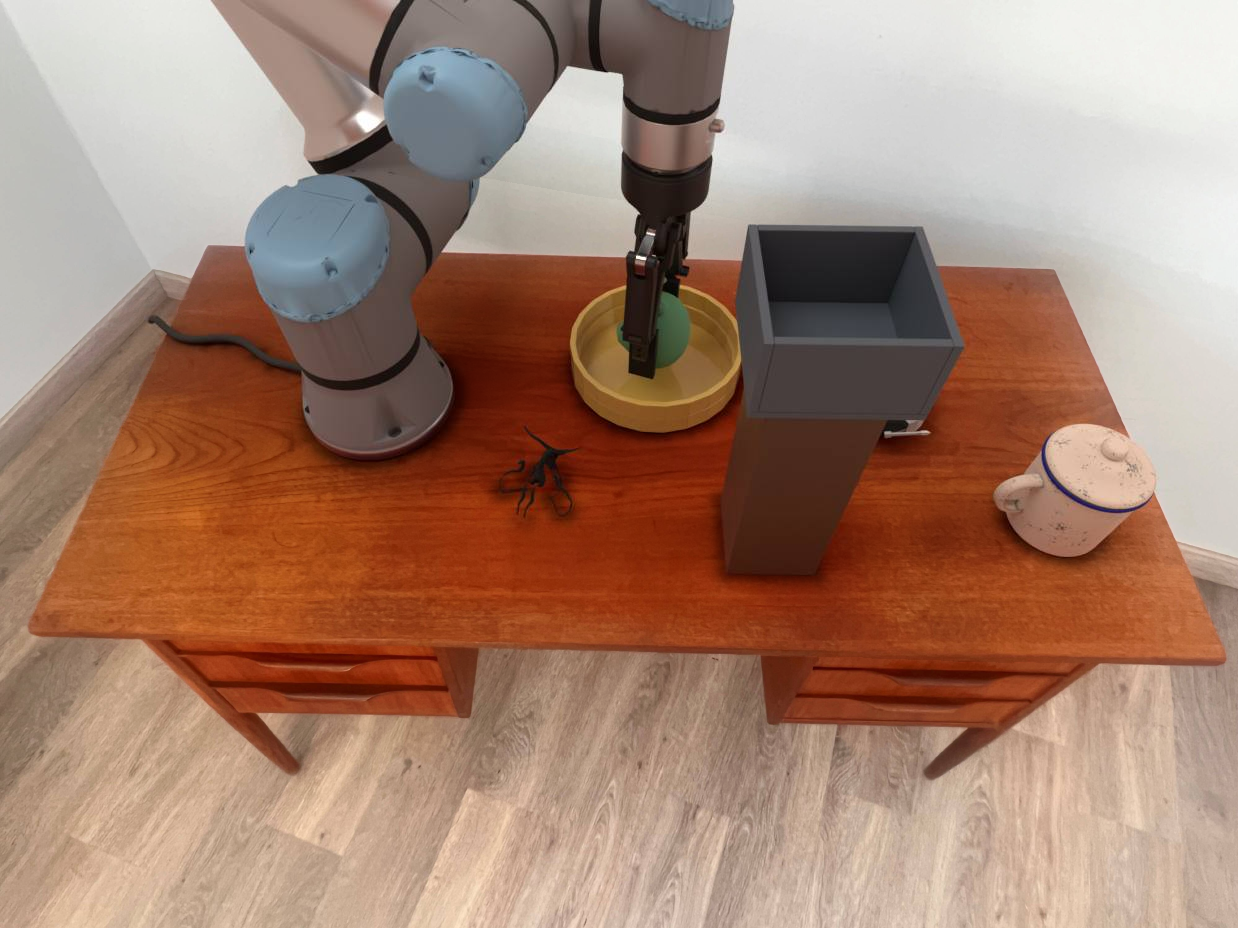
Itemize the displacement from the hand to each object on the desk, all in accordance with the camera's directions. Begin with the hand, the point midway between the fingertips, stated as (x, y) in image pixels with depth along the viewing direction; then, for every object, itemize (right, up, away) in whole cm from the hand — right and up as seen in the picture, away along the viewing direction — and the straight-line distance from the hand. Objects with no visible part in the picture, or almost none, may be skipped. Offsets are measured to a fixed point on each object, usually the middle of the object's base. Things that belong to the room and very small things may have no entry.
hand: (652, 348), depth 79 cm
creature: (-11, -15, -7) cm, 20 cm away
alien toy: (0, -1, +1) cm, 2 cm away
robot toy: (+21, -6, 0) cm, 22 cm away
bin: (+10, -19, -10) cm, 24 cm away
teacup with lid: (+36, -18, -9) cm, 41 cm away
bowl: (0, -2, +2) cm, 3 cm away
